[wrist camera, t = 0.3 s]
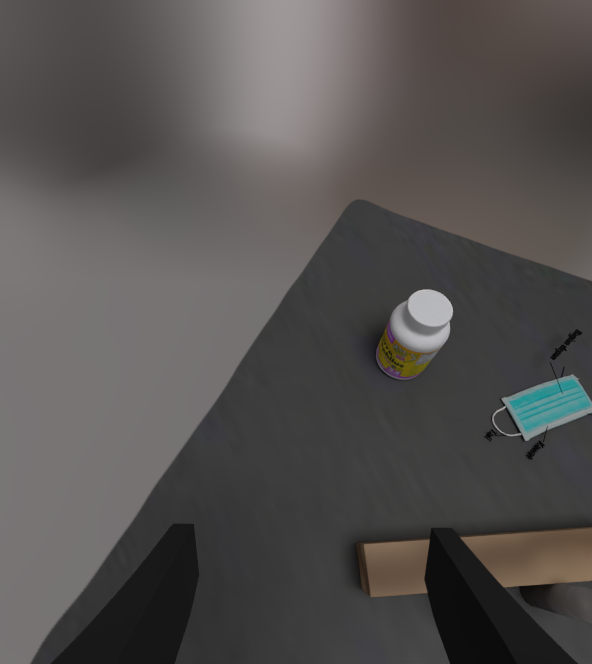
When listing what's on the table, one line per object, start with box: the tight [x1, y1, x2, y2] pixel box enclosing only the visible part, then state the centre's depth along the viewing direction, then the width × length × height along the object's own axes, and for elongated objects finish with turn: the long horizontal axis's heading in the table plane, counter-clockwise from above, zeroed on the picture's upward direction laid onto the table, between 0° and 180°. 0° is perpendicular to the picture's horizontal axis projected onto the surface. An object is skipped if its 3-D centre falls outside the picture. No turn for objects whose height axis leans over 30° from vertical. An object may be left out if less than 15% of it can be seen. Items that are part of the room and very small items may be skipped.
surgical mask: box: [485, 329, 592, 459], centre depth 43 cm, size 21×4×10 cm
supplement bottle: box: [376, 290, 453, 380], centre depth 42 cm, size 7×7×13 cm
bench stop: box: [356, 526, 592, 624], centre depth 33 cm, size 6×26×8 cm, turn 93°
